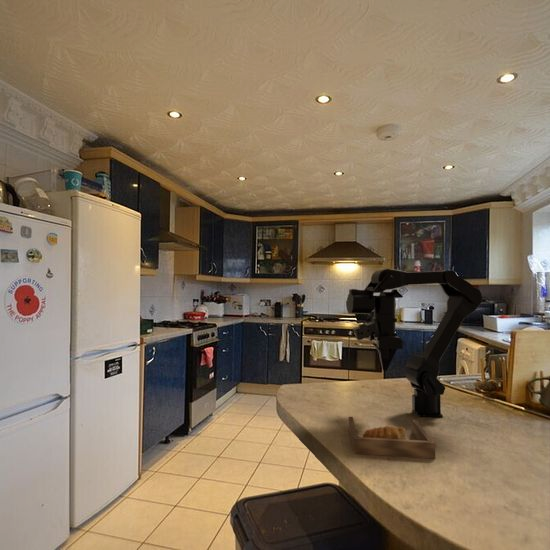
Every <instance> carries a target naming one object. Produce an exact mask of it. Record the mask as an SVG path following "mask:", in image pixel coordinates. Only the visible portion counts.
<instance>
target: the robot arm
mask: <svg viewBox="0 0 550 550" xmlns="http://www.w3.org/2000/svg"><path fill="white" fill-rule="evenodd" d="M435 284H438V285H439V286H440V287H441V289H442V291H443V293H444V294H445V295H446V296H447V297H448V299H447V301H446V308H447V309H446V313H445V314H444V315H443V317H442V318H441V321H440V322H439V323H438V326H437V328H436V329H435V331H434V333H433V334H432V336H431V338H430V339H429V341H428V342H427V345H426V346H425V348H424V349H423V351H422V352H421V353H420V354H418V355H417V354H414V353H412V354H411V356H410V357H409V361H407V363H406V364H405V365H404V366H405V367H406V368H405V370H404V373H405V377H406V379H407V381H408V382H410V387H412V388H414V389H413V394H412V395H411V403H412V405H411V407H412V408H411V409H412V410H413V411H414V412H415V414H416V415H417V416H419V417H428V418H429V417H433V418H443V417H444V415H443V414H442V412H441V411H442V410H441V407H442V405H441V396H442V395H444V393H445V390H446V386H445V385H444V384H443V383H442V382H441V381H440V379H438V377H439V374H440V362H441V359H442V357H443V356H444V354H445V352H446V351H447V349H448V348H449V346H450V344H451V342H452V340H453V339H454V337H455V335H456V333H457V332H458V330H459V328H460V326H461V325H462V323H463V322H464V320H465V318H467V317H468V316H470V315H471V314H473V313H475V311H477V309H478V308H479V307H480V305H481V304H483V303H482V302H483V301H484V300H483V299H484V297H483V294H482V291H481V290H479V289H480V288H477V287H476V286H475V287H474V286H473V284H471V283H470V281H467V280H465V279H464V278H462V277H461V276H459V275H458V274H457V273H456V272H455V271H453V270H452V269H443V270H431V271H429V270H428V271H404V270H401V269H393V268H384V269H379V270H375V271H374V272H373V273H372V275H371V277H370V281H369V283H368V284H367V286H365V288H364V289H355V288H350V289H349V290H348V295H347V298H346V301H345V302H346V303H345V306H346V311H347V313H348V314H351V315H353V314H355V315H358V314H363V315H364V314H365V315H370V314H371V313H372V311H373V316H372V318H371V322H368V323H364V322H363V323H361V324H358V326H355V327H354V328H352V329H353V333H354V335H355V338H356V340H357V341H361V340H364V339H366V338H368V340H369V342H370V341H371V342H372V341H374V342H373V343H371V344H372V346H373V347H374V348H375V349H376V350H377V352H378V355H379V361H380V365H381V368H382V371H384V372H387V371H389V370H388V369H389V367H390V364H391V362H392V361H393V359H394V357H395V354H396V352H397V350H403V349H405V348H404V347H405V344H404V340H403V339H402V338H401V337H399V336H398V333H397V332H396V323H398V318H397V317H396V299H397V298H398V299H402V298H403V297H404V295H403V294H402V293H401V292H399V290H398V288H402V287H405V286H406V287H407V286H409V285H412V286H413V285H435ZM387 290H391V291H387ZM375 294H378V295H375Z"/></svg>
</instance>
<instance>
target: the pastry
mask: <svg viewBox="0 0 550 550" xmlns="http://www.w3.org/2000/svg"><path fill="white" fill-rule="evenodd" d="M362 437H370V438H387V439H405V440H407V436H406V429H405V427H395V426H388V425H385V426H379V427H373V428H370V429H367V430H365V431H364V432H363V434H362Z"/></svg>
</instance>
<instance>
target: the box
mask: <svg viewBox="0 0 550 550" xmlns="http://www.w3.org/2000/svg"><path fill="white" fill-rule="evenodd" d="M354 420H355V419H354V417H353V416H348V432H349V436H350V442H351V446H352V450H353V452H354V454H358V455H359V454H360V455H373V456H374V455H375V456H378V455H379V456H390V457H391V456H393V457H407V458H410V457H411V458H422V459H423V458H424V459H436V443H435V441H434V440H433V439H432V437H431V436H430V434H428V432H427V431H426V430H425V428H424V427H423V426H422V425H421V424H420V422H419V421H418V420H417V419H412V420H411V423H412V424H411V426H412V427H411V428H412V430H411V432H412V435H413V436H414V437H415V439H406V440H405V439H387V438H370V437H363V436H359V434H358V430H357V426H356V424H355V421H354Z"/></svg>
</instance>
